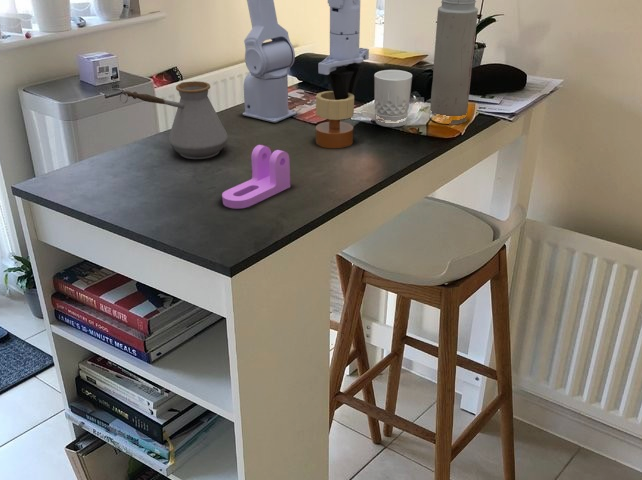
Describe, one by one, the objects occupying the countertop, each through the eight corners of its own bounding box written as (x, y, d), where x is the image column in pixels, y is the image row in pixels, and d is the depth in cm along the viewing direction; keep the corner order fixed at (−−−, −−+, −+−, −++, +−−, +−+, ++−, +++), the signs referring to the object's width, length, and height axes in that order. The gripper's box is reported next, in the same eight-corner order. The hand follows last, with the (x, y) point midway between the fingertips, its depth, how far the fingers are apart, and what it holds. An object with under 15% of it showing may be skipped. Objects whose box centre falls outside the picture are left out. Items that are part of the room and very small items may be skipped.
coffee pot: (204, 138, 155) (196, 62, 147) (240, 151, 149) (235, 73, 140) (115, 166, 143) (102, 85, 134) (151, 182, 136) (140, 98, 128)
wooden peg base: (308, 143, 152) (307, 109, 148) (329, 133, 157) (329, 99, 153) (339, 151, 149) (339, 116, 145) (360, 140, 154) (361, 106, 150)
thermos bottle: (467, 114, 167) (481, -26, 151) (465, 125, 160) (480, -19, 144) (430, 112, 168) (441, -27, 152) (427, 123, 162) (439, -20, 146)
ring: (308, 115, 149) (308, 96, 147) (330, 106, 154) (330, 88, 152) (339, 122, 146) (339, 103, 144) (360, 113, 151) (361, 95, 149)
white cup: (410, 128, 159) (413, 80, 154) (373, 128, 160) (375, 80, 154) (407, 116, 166) (410, 69, 160) (371, 116, 166) (373, 69, 160)
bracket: (266, 179, 137) (265, 142, 133) (290, 187, 134) (289, 148, 130) (216, 202, 129) (212, 163, 125) (239, 211, 126) (236, 171, 122)
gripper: (340, 41, 137) (339, 116, 144) (382, 27, 146) (379, 98, 154) (309, 36, 140) (310, 110, 148) (352, 22, 150) (351, 92, 157)
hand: (343, 103), depth 151 cm, fingers closed on ring
